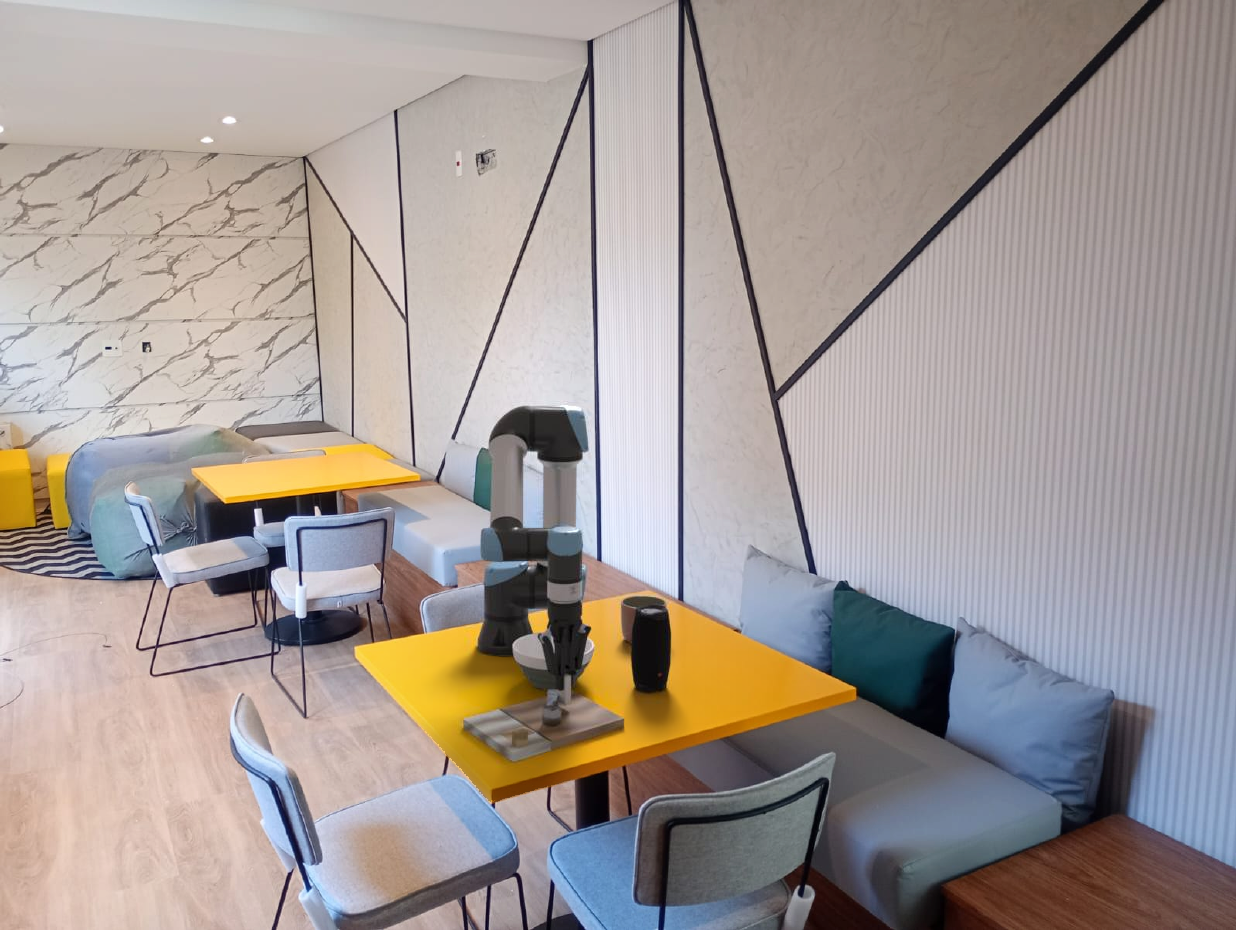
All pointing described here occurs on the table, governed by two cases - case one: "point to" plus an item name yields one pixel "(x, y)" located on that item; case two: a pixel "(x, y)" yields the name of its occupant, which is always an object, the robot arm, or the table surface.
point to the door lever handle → (551, 709)
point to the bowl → (542, 661)
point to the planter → (629, 611)
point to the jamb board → (540, 726)
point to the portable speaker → (651, 648)
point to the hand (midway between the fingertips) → (564, 702)
